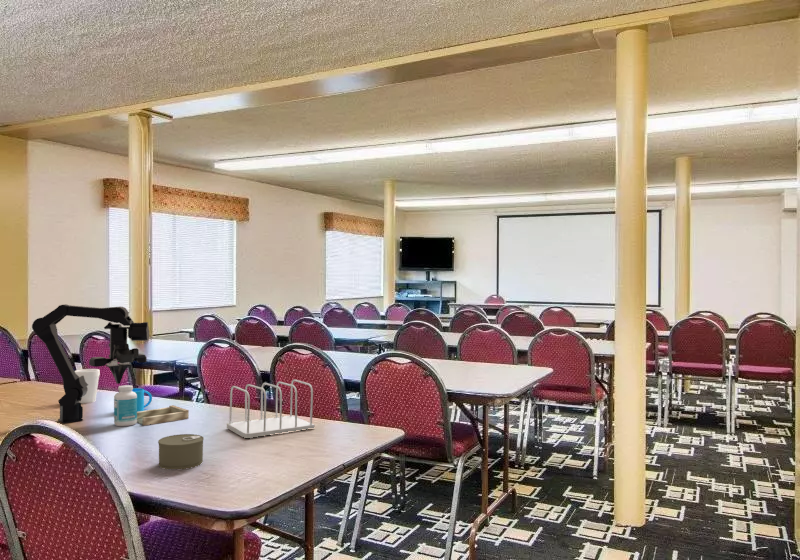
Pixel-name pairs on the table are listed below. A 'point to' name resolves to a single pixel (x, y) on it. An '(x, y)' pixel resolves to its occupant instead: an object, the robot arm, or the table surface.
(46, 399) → the table surface
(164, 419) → the cradle
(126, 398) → the pill bottle
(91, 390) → the foam cup
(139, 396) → the mug
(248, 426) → the file sorter
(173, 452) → the can
